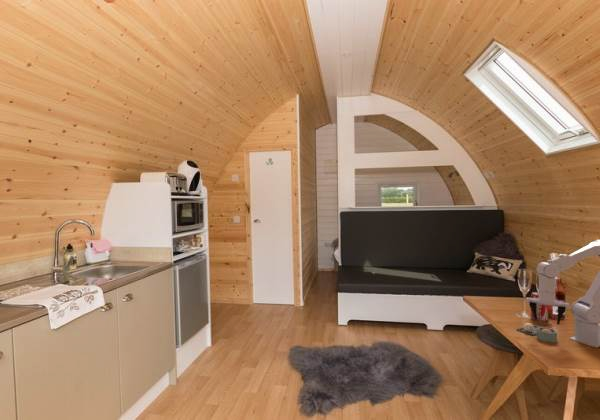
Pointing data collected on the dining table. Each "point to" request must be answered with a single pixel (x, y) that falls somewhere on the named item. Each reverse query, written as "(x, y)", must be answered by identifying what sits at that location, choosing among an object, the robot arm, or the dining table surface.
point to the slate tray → (529, 332)
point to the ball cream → (528, 327)
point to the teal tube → (546, 334)
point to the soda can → (540, 309)
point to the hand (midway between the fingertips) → (546, 321)
